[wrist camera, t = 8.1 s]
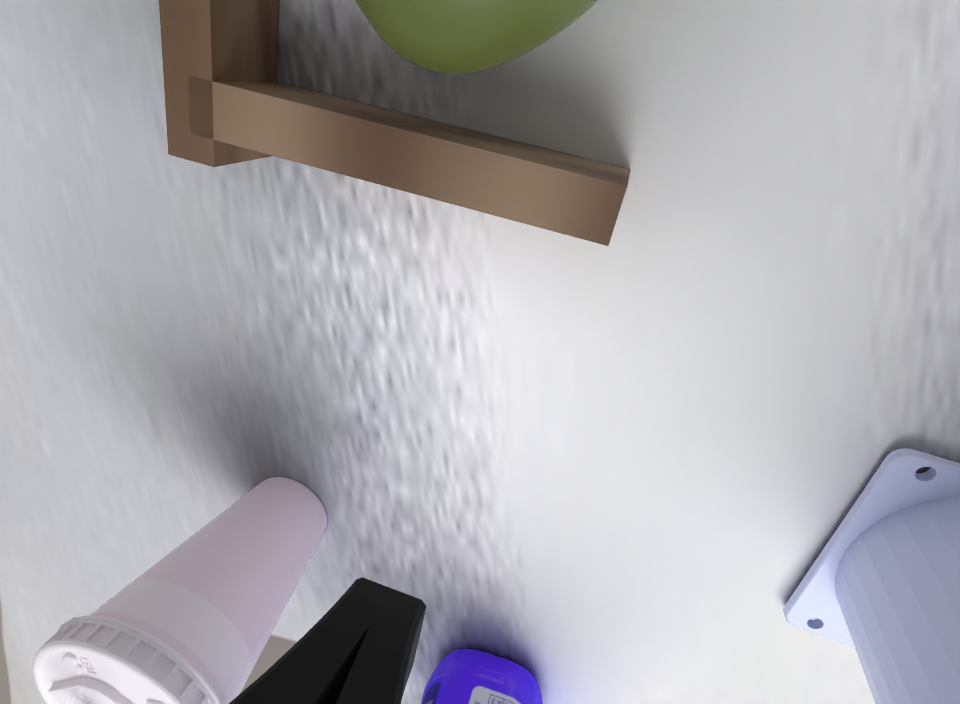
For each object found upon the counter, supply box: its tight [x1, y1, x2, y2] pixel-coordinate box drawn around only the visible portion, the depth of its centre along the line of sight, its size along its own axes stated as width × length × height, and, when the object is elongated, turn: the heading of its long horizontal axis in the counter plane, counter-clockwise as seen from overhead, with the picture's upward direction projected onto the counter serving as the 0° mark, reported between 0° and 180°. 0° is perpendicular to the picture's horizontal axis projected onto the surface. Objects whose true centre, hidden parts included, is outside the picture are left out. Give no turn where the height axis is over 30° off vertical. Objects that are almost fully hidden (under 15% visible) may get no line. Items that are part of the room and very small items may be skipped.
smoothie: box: [33, 477, 327, 704], centre depth 20 cm, size 6×6×14 cm
